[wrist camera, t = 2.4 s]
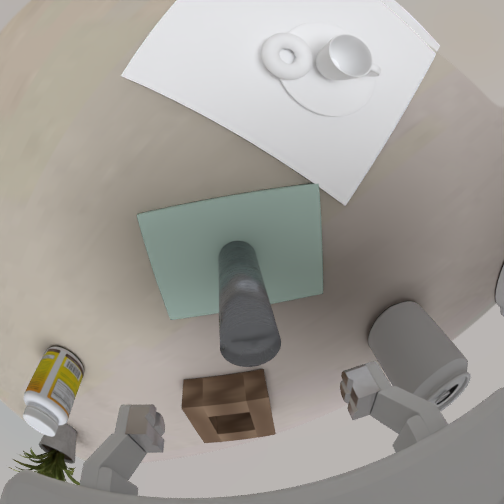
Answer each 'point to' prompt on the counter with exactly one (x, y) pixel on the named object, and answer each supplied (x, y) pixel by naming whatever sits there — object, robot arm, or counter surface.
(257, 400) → the hole block
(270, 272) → the mat
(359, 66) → the teacup and saucer
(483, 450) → the robot arm
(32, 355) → the counter surface
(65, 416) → the supplement bottle
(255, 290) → the pin
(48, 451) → the house plant
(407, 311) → the can
